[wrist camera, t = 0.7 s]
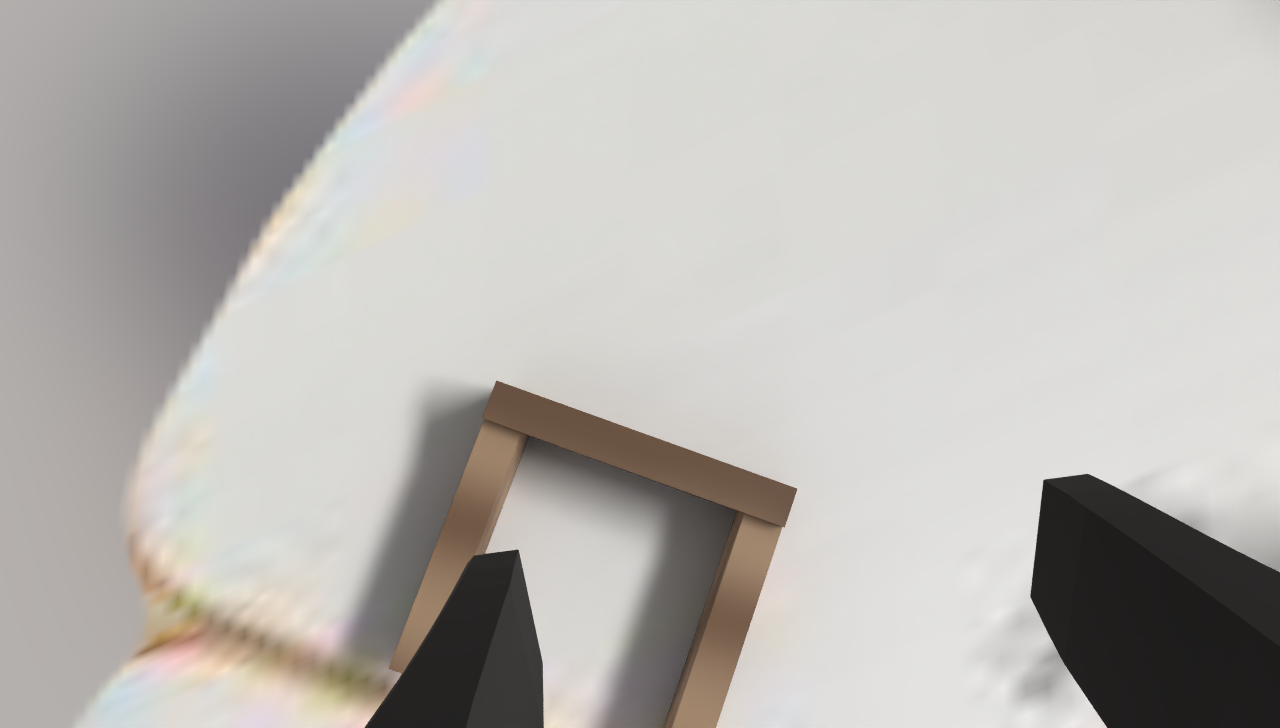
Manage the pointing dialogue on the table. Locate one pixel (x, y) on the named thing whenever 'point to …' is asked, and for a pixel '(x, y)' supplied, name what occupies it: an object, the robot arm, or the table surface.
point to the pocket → (640, 454)
